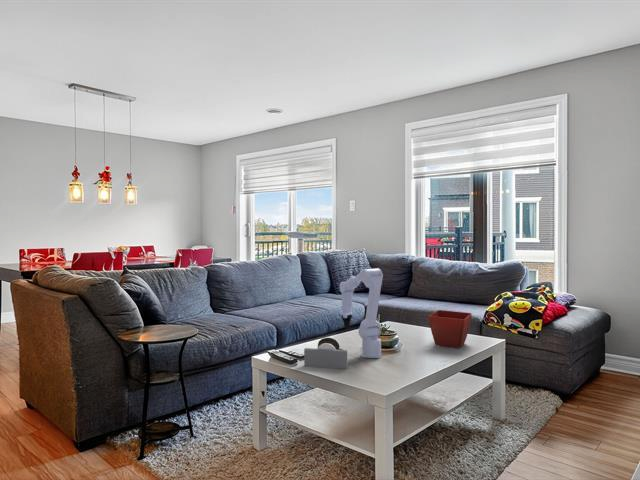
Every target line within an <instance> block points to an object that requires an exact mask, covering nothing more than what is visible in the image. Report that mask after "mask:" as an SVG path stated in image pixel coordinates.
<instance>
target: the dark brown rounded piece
mask: <svg viewBox="0 0 640 480" xmlns="http://www.w3.org/2000/svg"><path fill="white" fill-rule="evenodd" d="M317 342H318V343H317V348H318V347H319V346H320V345H321V344H324V343H329V344H331V345H333V346H334V347H335V349H336V350H344V349H343V348H342V349H341V348H340V344H339V342H338V341H337V340H336V339H335V338H333V337H325V338H321V339H320V340H319V341H317Z"/></svg>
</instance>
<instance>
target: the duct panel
mask: <svg viewBox="0 0 640 480" xmlns="http://www.w3.org/2000/svg"><path fill="white" fill-rule="evenodd" d="M303 351H304V352H303V360H304V361H303V362H304V363H303V364H304V365H303V366H304V367H312V368H313V367H314V368H315V367H316V368H327V369H330V368H331V369H345V370H347V369H348V349H343V350H336V349H335V347H334V346H333V345H331V344H329V343H324V344H321V345H320V346H319V347H318V346H317V348H312V347H311V348H310V347H305V348H304V350H303Z"/></svg>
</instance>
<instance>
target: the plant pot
mask: <svg viewBox="0 0 640 480" xmlns="http://www.w3.org/2000/svg"><path fill="white" fill-rule="evenodd" d="M472 314H473V313H471V312H466V311H465V312H464V311H453V310H442V309H438V310H436V311H434V312H432V313H431V314H429V315H428V320H429V321H428V322H429V326H430V327H429V328H430V331H431V332H430V333H431V334H432V337H433V341H434V343H435V346H436V347H444V348H445V347H446V348H452V349H460V348H462V346H464V344H465V342H466V341H467V340H466V339H467V338H468V334H469V330H470V327H471V320H472Z"/></svg>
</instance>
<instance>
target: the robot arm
mask: <svg viewBox="0 0 640 480" xmlns="http://www.w3.org/2000/svg"><path fill="white" fill-rule="evenodd" d="M383 277H384V274H383V271H382V269H380V268H379V267H377V268H362V269H360V270H359V273H358V274H357V275H352V276H350V277H349V278H347V279H346V281H341V282H339V283H340V284H339V290H340V292H341V310H340V311H339V313H340V314H341V319H342V321H343V324H344V329H346V330H350V326H351V320H352V318H353V313H354V312H353V295H354V291H355V289H356V288H357V287H359V285H360V283H361V282H362V283H363V284H364V285H365V287H366V288H367V289H369V291H368V298H367V305H366V311H365V312H366V313H365V318H364V319H363V320H362V321H361V322H360V326H359V327H358V335H359V337H360V338H361V339H362V341H361V342H362V344H361V346H362V347H361V349H362V350H361V351H362V352H361V355H360V358H370V359H380V358H381V356H382V339H381V338H379V337H380V335H381V323H380V322H379V321H378V320H377V317H378V316H377V315H378V310H379V309H378V308H379V304H380V303H379V302H380V296H381V289H382V285H383Z"/></svg>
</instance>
